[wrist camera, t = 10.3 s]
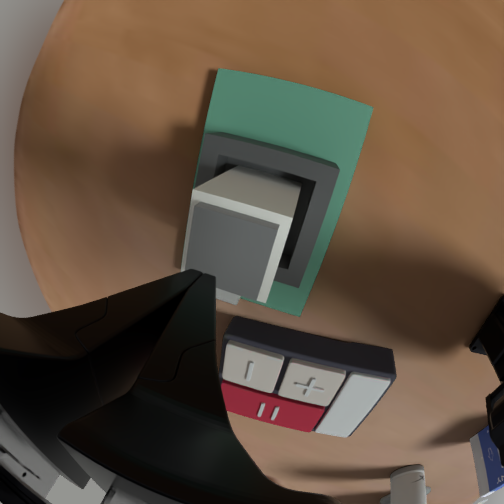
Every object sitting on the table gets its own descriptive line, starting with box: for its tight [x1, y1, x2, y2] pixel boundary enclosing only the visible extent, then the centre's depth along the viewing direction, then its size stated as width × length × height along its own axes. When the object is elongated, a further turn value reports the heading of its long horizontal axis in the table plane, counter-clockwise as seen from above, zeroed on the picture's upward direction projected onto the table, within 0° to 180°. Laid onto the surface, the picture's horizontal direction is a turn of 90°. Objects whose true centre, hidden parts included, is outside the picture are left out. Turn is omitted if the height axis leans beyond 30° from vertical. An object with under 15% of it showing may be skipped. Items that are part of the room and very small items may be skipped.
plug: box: [181, 165, 302, 305], centre depth 15 cm, size 4×5×8 cm
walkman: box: [470, 425, 504, 497], centre depth 20 cm, size 8×3×12 cm, turn 154°
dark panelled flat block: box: [219, 316, 396, 437], centre depth 25 cm, size 11×4×15 cm
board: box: [181, 68, 373, 317], centre depth 18 cm, size 10×16×4 cm, turn 166°
